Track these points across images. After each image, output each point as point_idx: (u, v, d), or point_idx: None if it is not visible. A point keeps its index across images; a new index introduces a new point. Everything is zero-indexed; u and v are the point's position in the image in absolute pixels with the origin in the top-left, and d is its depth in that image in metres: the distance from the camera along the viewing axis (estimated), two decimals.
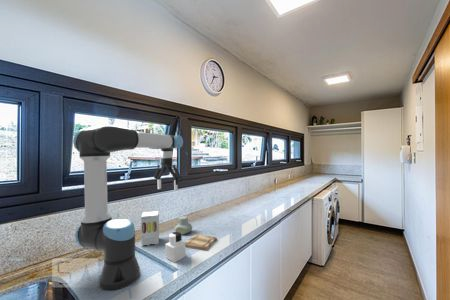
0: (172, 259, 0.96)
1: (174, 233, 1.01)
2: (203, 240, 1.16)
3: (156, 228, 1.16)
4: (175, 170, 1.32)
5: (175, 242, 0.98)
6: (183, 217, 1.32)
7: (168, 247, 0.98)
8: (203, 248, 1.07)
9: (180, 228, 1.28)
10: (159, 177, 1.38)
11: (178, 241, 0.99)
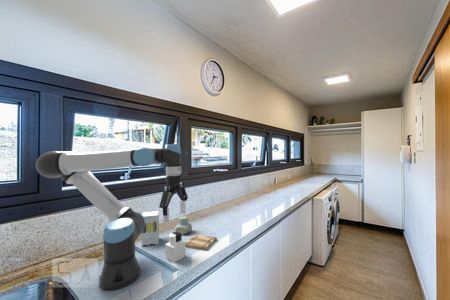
0: (172, 259, 0.96)
1: (174, 233, 1.01)
2: (203, 240, 1.16)
3: (156, 228, 1.16)
4: (162, 194, 0.95)
5: (175, 242, 0.98)
6: (183, 217, 1.32)
7: (168, 247, 0.98)
8: (203, 248, 1.07)
9: (180, 228, 1.28)
10: (181, 198, 1.07)
11: (178, 241, 0.99)
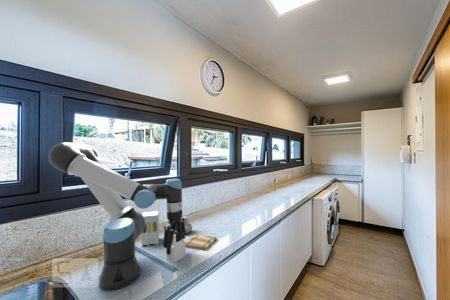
0: None
1: (174, 233, 1.01)
2: (203, 240, 1.16)
3: (156, 228, 1.16)
4: (164, 234, 0.95)
5: (175, 242, 0.98)
6: (183, 217, 1.32)
7: None
8: (203, 248, 1.07)
9: None
10: None
11: (178, 241, 0.99)
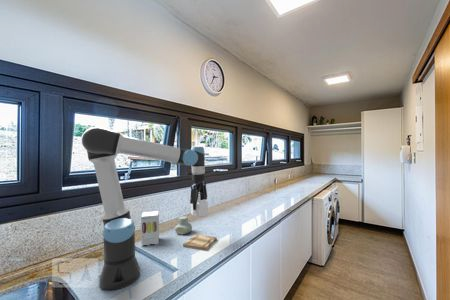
0: None
1: None
2: (203, 240, 1.16)
3: (156, 228, 1.16)
4: (191, 192, 1.10)
5: (200, 200, 1.13)
6: (183, 217, 1.32)
7: None
8: (203, 248, 1.07)
9: (180, 228, 1.28)
10: None
11: (202, 199, 1.14)
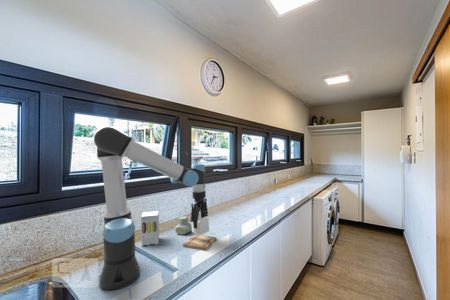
0: None
1: (199, 211, 1.16)
2: (203, 240, 1.16)
3: (156, 228, 1.16)
4: None
5: (200, 218, 1.13)
6: (183, 217, 1.32)
7: None
8: (203, 248, 1.07)
9: (180, 228, 1.28)
10: None
11: (203, 217, 1.14)
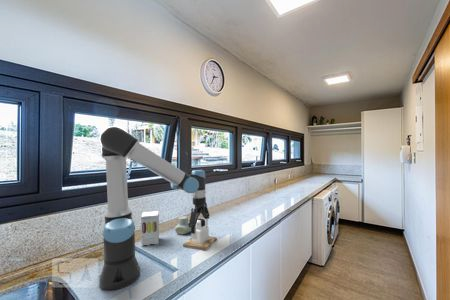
0: (198, 241, 1.12)
1: (199, 219, 1.16)
2: None
3: (156, 228, 1.16)
4: None
5: (200, 227, 1.13)
6: (183, 217, 1.32)
7: None
8: (203, 248, 1.07)
9: (180, 228, 1.28)
10: (204, 216, 1.22)
11: (203, 226, 1.14)
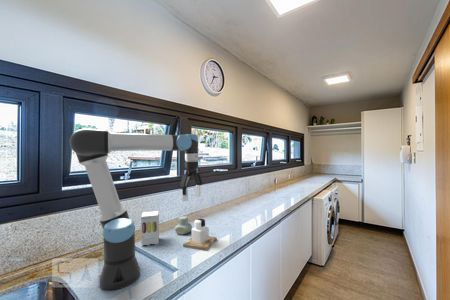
0: (198, 241, 1.12)
1: (199, 219, 1.16)
2: None
3: (156, 228, 1.16)
4: (182, 177, 1.09)
5: (201, 227, 1.13)
6: (183, 217, 1.32)
7: (194, 231, 1.13)
8: (203, 248, 1.07)
9: (180, 228, 1.28)
10: (197, 183, 1.22)
11: (203, 226, 1.14)
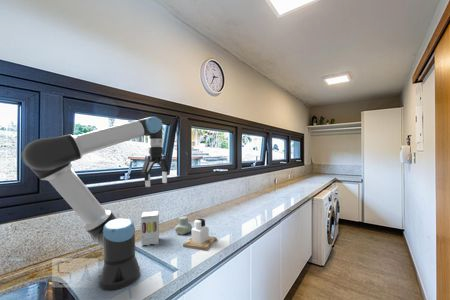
0: (198, 241, 1.12)
1: (199, 219, 1.16)
2: None
3: (156, 228, 1.16)
4: (144, 162, 1.06)
5: (201, 227, 1.13)
6: (183, 217, 1.32)
7: (194, 231, 1.13)
8: (203, 248, 1.07)
9: (180, 228, 1.28)
10: (163, 169, 1.19)
11: (203, 226, 1.14)
